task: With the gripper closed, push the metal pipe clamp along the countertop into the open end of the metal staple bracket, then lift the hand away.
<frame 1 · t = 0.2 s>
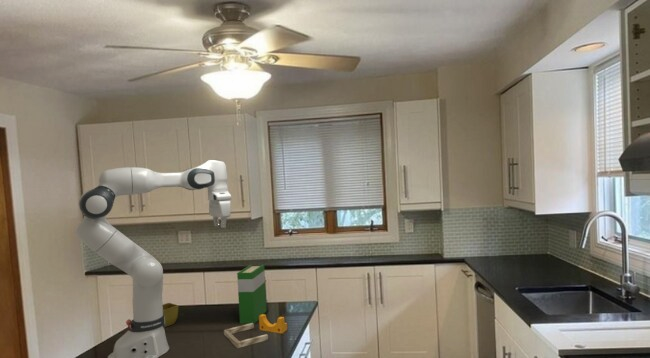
hand: (220, 226, 177), 48 cm above the counter, tool pointing down, fingers open, 8 cm apart
hardback book: (253, 317, 197), on the counter
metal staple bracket: (248, 336, 173), on the counter
flower pot: (166, 325, 192), on the counter
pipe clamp: (273, 330, 179), on the counter
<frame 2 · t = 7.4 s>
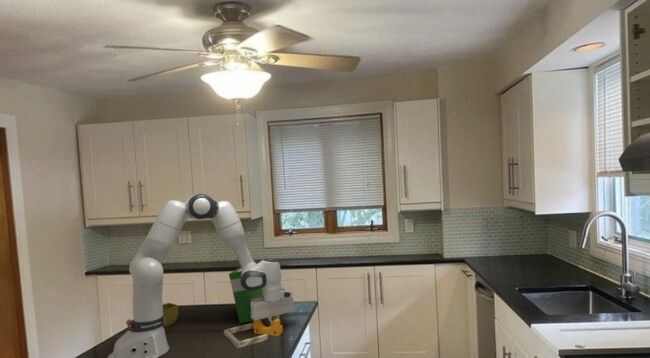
hand: (273, 325, 179), 2 cm above the counter, tool pointing down, fingers closed
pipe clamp: (268, 333, 176), on the counter, touching gripper
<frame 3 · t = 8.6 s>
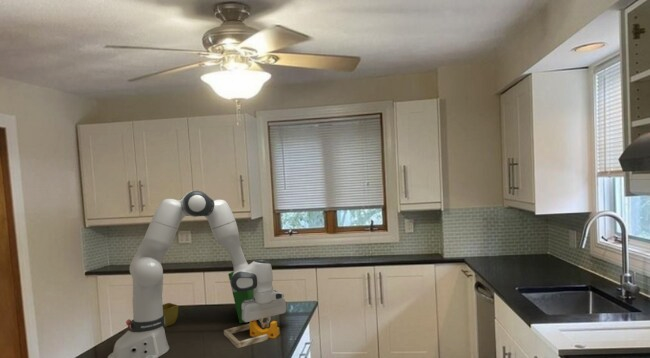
hand: (265, 327, 177), 2 cm above the counter, tool pointing down, fingers closed
hardback book: (253, 315, 197), on the counter, touching arm
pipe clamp: (264, 336, 173), on the counter
everything else where it was.
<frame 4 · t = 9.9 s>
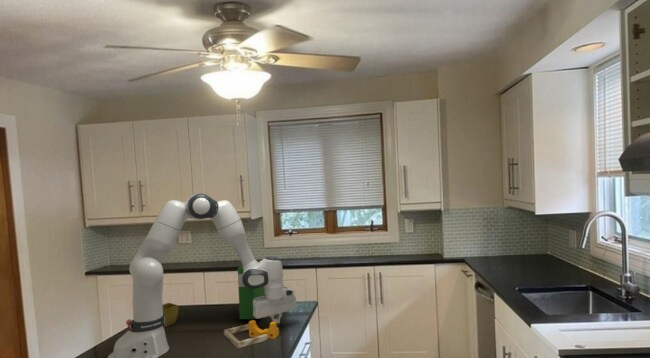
hand: (276, 323, 179), 3 cm above the counter, tool pointing down, fingers closed
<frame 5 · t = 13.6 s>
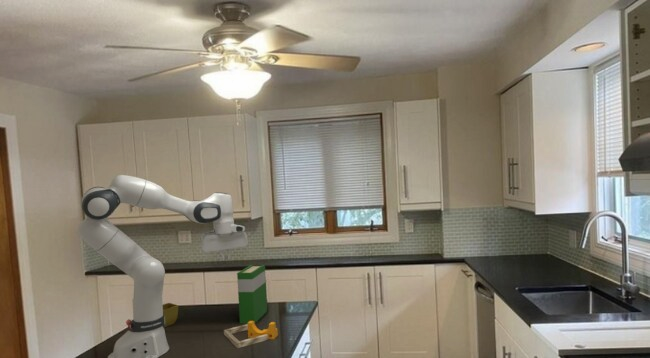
hand: (225, 260, 175), 33 cm above the counter, tool pointing down, fingers closed
hardback book: (254, 317, 197), on the counter
at the end: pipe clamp inside the target area on the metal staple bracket (5.8 cm from its centre), point 0.0 cm above the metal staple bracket's base; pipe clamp moved 7.9 cm from its start; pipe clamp tilted 0° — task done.
